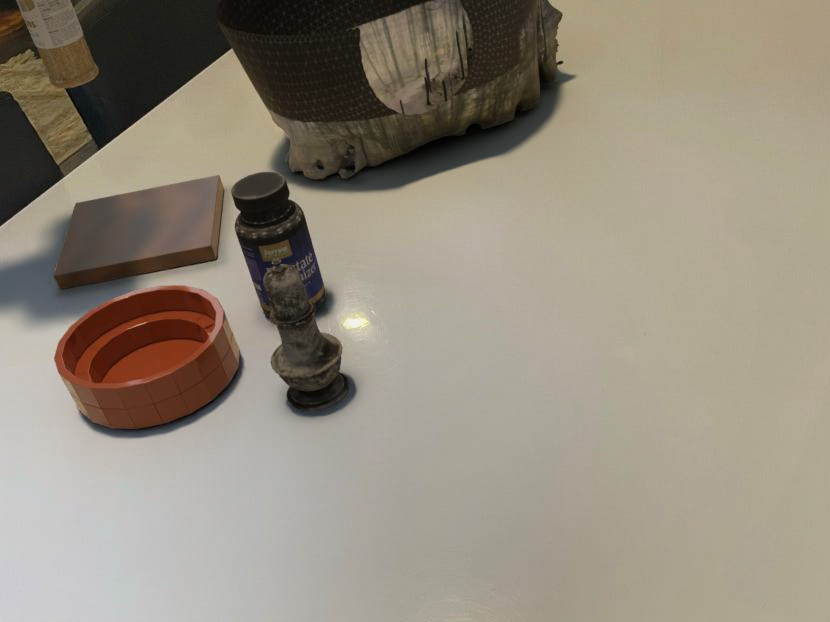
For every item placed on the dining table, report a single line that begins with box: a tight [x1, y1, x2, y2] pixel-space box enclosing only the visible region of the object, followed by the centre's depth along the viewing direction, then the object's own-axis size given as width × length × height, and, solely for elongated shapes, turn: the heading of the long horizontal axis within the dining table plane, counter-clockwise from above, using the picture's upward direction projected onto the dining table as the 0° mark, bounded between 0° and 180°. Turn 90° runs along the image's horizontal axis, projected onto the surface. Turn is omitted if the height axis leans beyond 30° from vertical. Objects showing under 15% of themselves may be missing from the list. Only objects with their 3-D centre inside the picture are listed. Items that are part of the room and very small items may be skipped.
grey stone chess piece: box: [263, 257, 350, 412], centre depth 75 cm, size 6×6×12 cm
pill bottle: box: [230, 171, 327, 317], centre depth 84 cm, size 6×6×11 cm
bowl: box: [53, 284, 240, 430], centre depth 82 cm, size 14×14×4 cm
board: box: [53, 174, 225, 290], centre depth 100 cm, size 16×15×2 cm
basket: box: [215, 0, 564, 180], centre depth 102 cm, size 28×35×16 cm
